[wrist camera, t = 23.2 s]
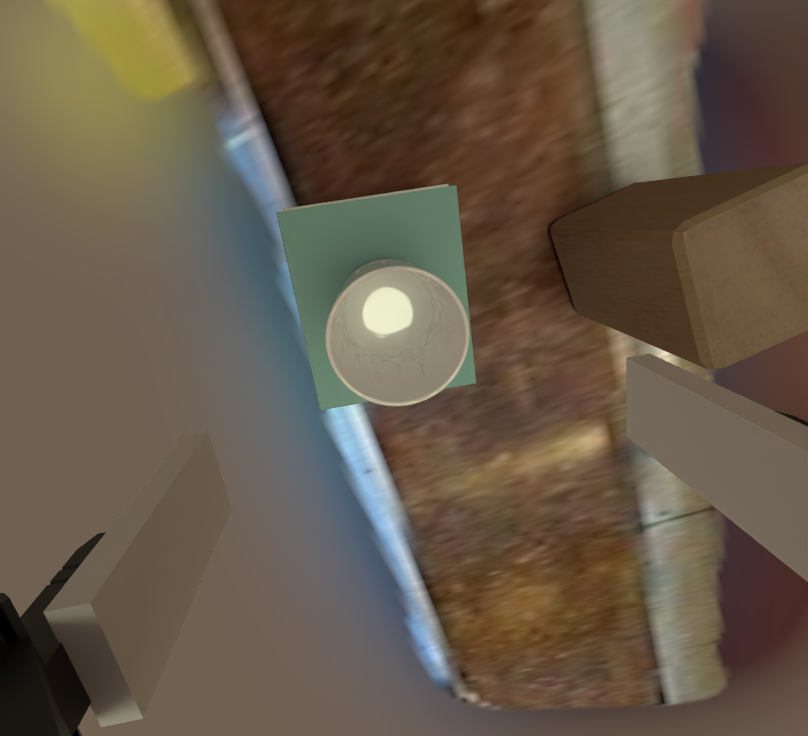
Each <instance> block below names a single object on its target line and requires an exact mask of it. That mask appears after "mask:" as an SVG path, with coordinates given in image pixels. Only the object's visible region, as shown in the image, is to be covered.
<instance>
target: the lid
mask: <svg viewBox="0 0 808 736" xmlns="http://www.w3.org/2000/svg"><path fill="white" fill-rule="evenodd" d="M276 214H277V218H278V223H279V227H280V231H281V236H282V240H283V245H284V249H285V254H286V258H287V263H288V267H289V272H290V276H291V280H292V285H293V289H294V294H295V298H296V303H297V307H298V312H299V316H300V321H301V325H302V329H303V334H304V338H305V343H306V347H307V352H308V356H309V361H310V365H311V370H312V374H313V378H314V383H315V387H316V392H317V396H318V401H319V405H320V409H321V410H324V409H330V408H336V407H342V406H347V405H353V404H359V403H364V402H370V401H368V400H366V399H364V398H362V397H360V396H358V395H357V394H355V393H354V392H352V391H351V390H350V389H349V388H347V387H346V386H345V385H344V384H343V382H342V381H341V380H340V379H339V377H338V376H337V375H336V373H335V371H334V370H333V368H332V365H331V363H330V361H329V358H328V354H327V349H326V340H325V336H326V326H327V321H328V317H329V314H330V312H331V309H332V307H333V305H334V303H335V300H336V298H337V296H338V294H339V292H340V290H341V288H342V287H343V285H344V284H345V282H346V281H347V280H348V278H349V277H350V276H351V274H352V273H353V272H355V271H356V270H358V269H359V268H361V267H362V266H363V265H365V264H366V263H368V262H369V261H375V260H382V259H388V258H391V259H394V260H401V261H405V262H408V263H411V264H413V265H416V266H418V267H420V268H422V269H424V270H426V271H427V272H429V273H432V274H433V275H435V276H437V277H439V278H440V279H441V280H443V281H444V282H445V283H446V284H448V285H449V286H450V287H451V288H452V290H453V291H454V292H455V293H456V294H457V296H458V297H459V299H460V301H461V302H462V304H463V306H464V309H465V311H466V314H467V318H468V322H469V331H470V337H469V346H468V351H467V355H466V358H465V360H464V363H463V365H462V367H461V369H460V370H459V372H458V373H457V375H456V376H455V378H454V379H453V380H452V381H451V382H450V383H449V384H448V385H447V386H446V387H445V388H450V387H456V386H462V385H468V384H473V383H476V378H475V368H474V358H473V348H472V338H471V327H470V317H469V307H468V297H467V287H466V277H465V267H464V257H463V247H462V237H461V227H460V217H459V207H458V197H457V187H456V185H454V186H448V187H441V188H434V189H428V190H421V191H415V192H408V193H402V194H395V195H389V196H382V197H376V198H369V199H362V200H356V201H349V202H343V203H336V204H330V205H323V206H317V207H310V208H303V209H297V210H290V211H284V212H277V213H276ZM445 388H444V389H445Z"/></svg>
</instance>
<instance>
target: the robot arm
mask: <svg viewBox="0 0 808 736" xmlns="http://www.w3.org/2000/svg"><path fill="white" fill-rule="evenodd" d="M626 436H627V437H628V438H629V439H631V440H632V441H633V442H634V443H636V444H637V445H638V446H639V447H641V448H642V449H643V450H644V451H646V452H647V453H648V454H649V455H651V456H652V457H653V458H654V459H656V460H657V461H658V462H659V463H661V464H662V465H663V466H664V467H666V468H667V469H668V470H669V471H671V472H672V473H673V474H674V475H675V476H677V477H678V478H679V479H680V480H682V481H683V482H684V483H685V484H687V485H688V486H689V487H690V488H692V489H693V490H694V491H695V492H697V493H698V494H699V495H700V496H702V497H703V498H704V499H705V500H707V501H708V502H709V503H710V504H712V505H713V506H714V507H715V508H717V509H718V510H719V511H720V512H721V513H723V514H724V515H725V516H726V517H728V518H729V519H730V520H732V521H733V522H734V523H735V524H736V525H738V526H739V527H740V528H741V529H743V530H744V531H745V532H746V533H748V534H749V535H750V536H751V537H753V538H754V539H755V540H756V541H758V542H759V543H760V544H761V545H763V546H764V547H765V548H766V549H768V550H769V551H770V552H771V553H772V554H774V555H775V556H776V557H777V558H779V559H780V560H781V561H782V562H784V563H785V564H786V565H788V566H789V567H790V568H791V569H792V570H794V571H795V572H796V573H797V574H799V575H800V576H801V577H802V578H804V579H805V580H806V581H807V582H808V422H806V421H804V420H802V419H800V418H797V417H795V416H792V415H788V414H784V413H781V412H777V411H773V410H771V409H768V408H766V407H764V406H762V405H760V404H758V403H755V402H753V401H751V400H749V399H747V398H744V397H742V396H740V395H738V394H735V393H734V392H732V391H729V390H727V389H725V388H723V387H721V386H719V385H716V384H714V383H712V382H710V381H708V380H706V379H703V378H701V377H699V376H697V375H695V374H693V373H690V372H688V371H686V370H684V369H682V368H680V367H677V366H675V365H673V364H671V363H669V362H667V361H664V360H662V359H660V358H658V357H656V356H654V355H651V354H646V355H640V356H634V357H628V358H627V371H626ZM231 509H232V506H231V503H230V500H229V497H228V493H227V491H226V487H225V484H224V480H223V477H222V474H221V471H220V468H219V464H218V461H217V458H216V455H215V452H214V448H213V445H212V442H211V439H210V436H209V433H208V431H205V432H200V433H193V434H188V435H183V436H182V437H181V438H180V439H179V441H178V442H177V443H176V444H175V446H174V447H173V448H172V449H171V451H170V452H169V453H168V455H167V456H166V457H165V458H164V459H163V461H162V462H161V463H160V465H159V466H158V467H157V468H156V470H155V471H154V472H153V473H152V475H151V476H150V477H149V479H148V480H147V481H146V482H145V484H144V485H143V486H142V488H141V489H140V490H139V491H138V492H137V494H136V495H135V496H134V498H133V499H132V500H131V501H130V503H129V504H128V505H127V507H126V508H125V509H124V510H123V511H122V513H121V514H120V515H119V517H118V518H117V519H116V520H115V522H114V523H113V524H112V525H111V527H110V528H109V529H108V531H107V532H104V533H99V534H97V535H96V536H94V537H93V538H92V539H90V540H89V541H88V542H86V543H85V544H84V545H83V546H81V547H80V548H79V549H77V550H76V551H75V553H74V554H73V555H72V556H71V557H70V559H69V560H68V561H67V562H66V563H65V565H64V566H63V567H62V568H63V569H62V570H60V571H59V572H58V573H57V574H56V575H55V577H54V578H53V579H52V580H51V581H50V585H47V586H46V587H45V589H44V590H43V591H42V592H41V593H40V595H39V596H38V597H37V598H36V599H35V601H34V602H33V603H32V604H31V605H30V607H29V608H28V609H27V610H26V611H25V613H24V614H23V615H22V616H21V617H19V615H18V613H17V611H16V609H15V608H14V606H13V604H12V602H11V600H10V598H9V597H8V596H7V595H5V594H4V593H0V736H82V735H81V733H80V731H79V729H78V725H79V724H80V722H81V720H82V718H83V716H84V714H85V713H86V711H87V709H88V707H89V705H90V706H91V707H92V710H93V712H94V713H95V716H96V718H97V719H98V721H99V723H100V725H101V727H104V726H109V725H114V724H119V723H124V722H129V721H133V720H139V719H143V718H144V716H145V713H146V711H147V708H148V706H149V704H150V701H151V699H152V697H153V694H154V692H155V690H156V687H157V685H158V682H159V680H160V678H161V675H162V673H163V671H164V668H165V666H166V663H167V661H168V658H169V656H170V654H171V652H172V649H173V647H174V645H175V642H176V640H177V637H178V635H179V633H180V630H181V628H182V626H183V623H184V621H185V618H186V616H187V614H188V611H189V609H190V607H191V604H192V602H193V599H194V597H195V595H196V592H197V590H198V587H199V585H200V583H201V580H202V578H203V576H204V573H205V571H206V569H207V566H208V564H209V561H210V559H211V557H212V554H213V552H214V550H215V547H216V545H217V542H218V540H219V538H220V535H221V533H222V530H223V528H224V526H225V524H226V521H227V519H228V516H229V514H230V511H231Z"/></svg>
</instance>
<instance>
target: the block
mask: <svg viewBox="0 0 808 736" xmlns="http://www.w3.org/2000/svg"><path fill="white" fill-rule="evenodd" d="M550 229H551V237H552V240H553V243H554V246H555V249H556V252H557V255H558V258H559V261H560V264H561V267H562V270H563V273H564V277H565V280H566V283H567V286H568V289H569V292H570V295H571V298H572V301H573V304H574V307H575V310H576V311H577V312H578V313H579V314H580V315H583V316H585V317H587V318H590V319H592V320H594V321H597V322H599V323H601V324H604V325H606V326H608V327H611V328H613V329H615V330H618V331H620V332H622V333H625V334H627V335H629V336H632V337H634V338H636V339H639V340H641V341H643V342H646V343H648V344H650V345H653V346H655V347H657V348H660V349H662V350H664V351H667V352H669V353H671V354H674V355H676V356H678V357H681V358H683V359H685V360H688V361H690V362H692V363H695V364H697V365H699V366H702V367H704V368H706V369H717V368H724V367H727V366H729V365H731V364H733V363H736V362H737V361H740V360H742V359H745V358H747V357H749V356H751V355H753V354H756V353H758V352H760V351H762V350H764V349H767V348H769V347H771V346H773V345H776V344H778V343H780V342H782V341H785V340H787V339H789V338H791V337H793V336H796V335H798V334H800V333H802V332H805V331H807V330H808V162H803V163H795V164H787V165H778V166H770V167H762V168H754V169H746V170H738V171H730V172H722V173H713V174H705V175H697V176H689V177H680V178H672V179H664V180H656V181H648V182H640V183H634V184H632V185H630V186H628V187H626V188H624V189H622V190H619V191H617V192H615V193H613V194H611V195H609V196H607V197H605V198H602V199H600V200H598V201H596V202H594V203H592V204H590V205H588V206H585V207H583V208H581V209H579V210H577V211H575V212H573V213H571V214H568V215H566V216H564V217H562V218H560V219H558V220H556V222H555V223H554V224H553V225H552V226H551V227H550Z"/></svg>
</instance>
